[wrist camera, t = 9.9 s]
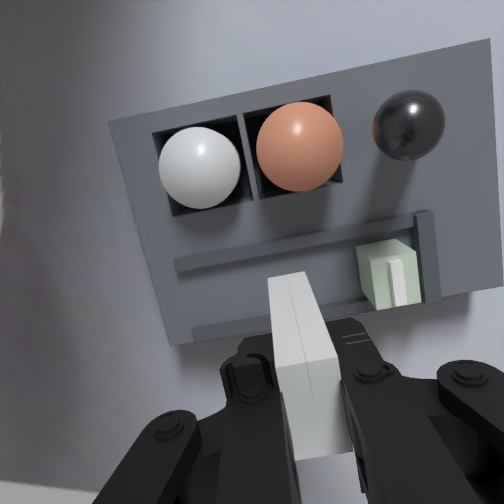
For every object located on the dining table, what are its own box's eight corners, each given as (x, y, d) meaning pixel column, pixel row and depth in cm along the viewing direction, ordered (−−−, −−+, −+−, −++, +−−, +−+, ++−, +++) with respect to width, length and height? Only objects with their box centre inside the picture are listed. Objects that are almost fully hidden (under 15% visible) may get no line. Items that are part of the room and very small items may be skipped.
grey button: (170, 139, 22) (149, 136, 18) (234, 125, 22) (228, 119, 17) (186, 203, 23) (169, 215, 18) (248, 191, 22) (245, 200, 18)
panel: (128, 126, 22) (100, 120, 18) (457, 54, 21) (503, 31, 17) (180, 323, 25) (165, 355, 21) (473, 269, 24) (515, 292, 20)
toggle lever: (380, 105, 18) (365, 97, 12) (431, 94, 18) (445, 77, 11) (386, 153, 19) (374, 170, 12) (436, 144, 18) (451, 157, 12)
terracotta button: (250, 120, 20) (248, 112, 16) (320, 105, 20) (336, 93, 16) (264, 190, 21) (265, 198, 17) (331, 176, 21) (348, 182, 17)
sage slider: (355, 246, 20) (372, 262, 17) (395, 238, 20) (419, 253, 17) (361, 290, 21) (379, 313, 18) (400, 283, 20) (424, 305, 17)
